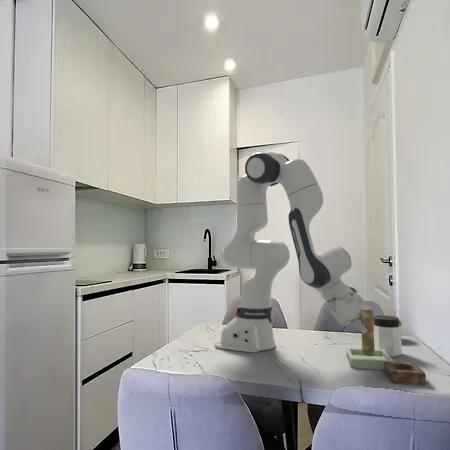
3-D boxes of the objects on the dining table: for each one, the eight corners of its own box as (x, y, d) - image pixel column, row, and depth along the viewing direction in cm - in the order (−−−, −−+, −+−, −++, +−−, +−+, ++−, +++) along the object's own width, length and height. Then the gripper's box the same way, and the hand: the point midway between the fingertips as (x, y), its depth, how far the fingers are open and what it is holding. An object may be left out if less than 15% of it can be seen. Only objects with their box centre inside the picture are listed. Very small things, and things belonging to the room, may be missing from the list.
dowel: (363, 355, 107) (361, 309, 108) (361, 352, 110) (359, 308, 111) (375, 356, 106) (374, 310, 107) (373, 353, 109) (371, 308, 110)
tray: (351, 367, 103) (350, 359, 104) (346, 355, 115) (346, 347, 115) (394, 370, 101) (394, 361, 101) (384, 357, 112) (384, 350, 113)
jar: (391, 358, 112) (389, 320, 113) (368, 352, 119) (367, 316, 120) (406, 353, 117) (404, 317, 118) (383, 348, 124) (382, 314, 125)
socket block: (391, 382, 92) (390, 371, 92) (384, 371, 100) (383, 361, 100) (426, 385, 90) (425, 373, 90) (415, 373, 98) (415, 363, 98)
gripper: (331, 293, 106) (364, 330, 99) (356, 287, 122) (386, 319, 114) (318, 306, 109) (349, 343, 102) (344, 299, 124) (373, 331, 117)
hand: (369, 330), depth 108 cm, fingers closed on dowel, 4 cm apart
